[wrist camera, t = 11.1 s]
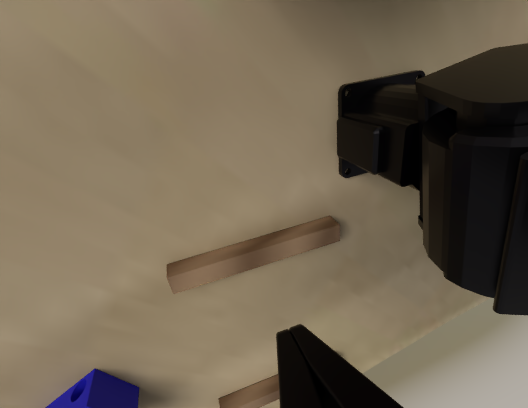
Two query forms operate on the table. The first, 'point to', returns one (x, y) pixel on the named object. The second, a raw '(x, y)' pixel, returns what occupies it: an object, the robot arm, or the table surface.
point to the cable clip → (99, 393)
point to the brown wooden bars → (245, 258)
